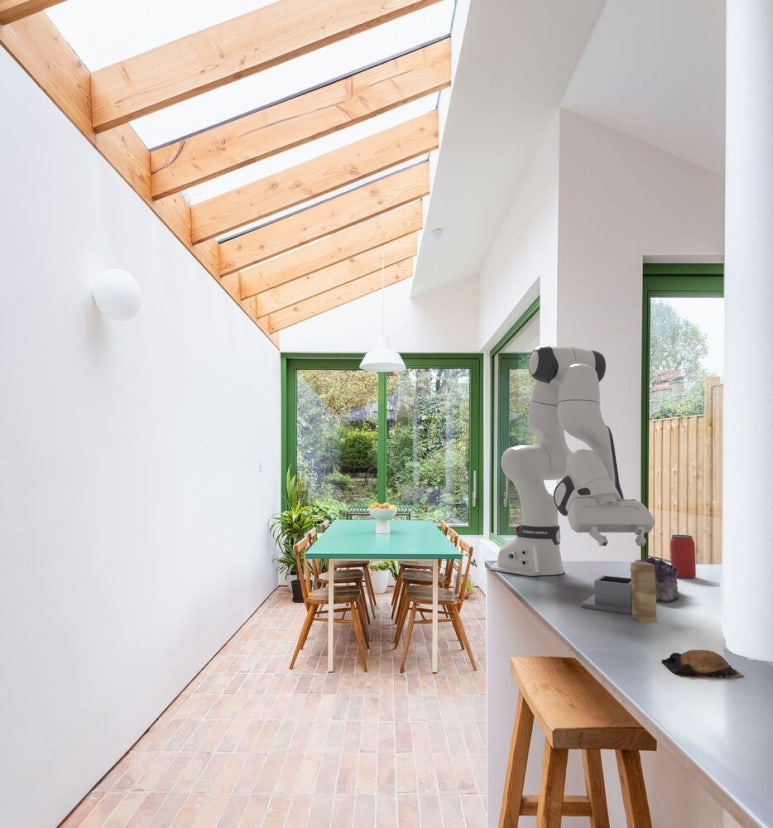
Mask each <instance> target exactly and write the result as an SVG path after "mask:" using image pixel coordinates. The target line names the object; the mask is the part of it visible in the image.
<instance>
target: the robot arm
mask: <svg viewBox="0 0 773 828" xmlns="http://www.w3.org/2000/svg"><path fill="white" fill-rule="evenodd" d="M606 369H607V362H606V358H605V356H604V355H603V353H600V352H599V351H596V350H593V349H585V348H581V347H576V346H558V345H556V346H551V345H547V344H546V345H540V346H536V348H534V349H533V350H532V352H531V354H530V356H529V361H528V370H529V371H528V372H529V374H530V376H531V377H532V378H533V379H534V380H535V381H534V384H533V389H532V393H531V397H530V403H529V409H528V414H527V426H528V428H529V429H530V430H531V431H532V432H534V433H535V436H536V444H535V445H534V444H531V445H530V444H528V445H527V444H521V445H516V446H511V447H509V448H506V449H505V450H504V451H503V453H502V456H501V459H500V466H501V470H502V472H503V473H504V475H505V476H506V477H507V478H508V479H509V480H510V481H511V482H512V483H513V485H514V486H515V488H516V490H517V493H518V496H519V500H520V510H521V524H519V525H518V526H516V527H514V532H515V533H516V534H515V535H516V536H515V537H513V538H512V539H511V540H509V541H508V542H506V543H505V544H504V545H503V546H502V547H501V548H500V549H499V552H498V553H497V554H498V555H497V561H496V562H494V563H492V564H491V565H490V570H491V571H497V572H502V573H503V572H504V573H510V574H514V575H516V574H517V575H523V576H531V577H535V576H536V577H537V576H554V575H562V574H564V573H565V572H566V570H565V568H564V564H563V561H562V555H561V554H562V553H561V546H560V544H561V528H560V525H559V514H561V515H562V516H564V517H567V520H568V524H569V526H570V527H571V529H572V530H573V531H574V532H576V533H579V534H582V533H588V534H589V536H590V537H591V538H593V539H594V540H595V541H596V542H597V544H598V546H599V547H607V545H608V544H609V540H608V539H607V536H606V535H602V534H601V533H609V534H610V533H613V534H615V533H618V534H619V533H623V534H624V533H627V534H628V533H633V534H635V535H636V538H635V540H634V541H635V543H636V545H637V546H638V547H639V546H640V547H642V546H645V545H646V543H647V541H646V538H645V537H644V535H645V533H650V532H651V531H652V530H653V528H654V526H655V525H656V520H655V518H654V517H653V515H652V514H651V512H650V511H649V509H648V508H647V507H646V505H644V503H643V502H641V501H639V500H636V499H633V498H631V499H626V498H624V494H623V491H622V487H621V483H620V476H619V469H618V463H617V456H616V448H615V442H614V438H613V433H612V430H611V428H610V427H609V426H608V425H606V423H605V421H604V418H603V415H602V411H601V390H600V382H601V381H602V380H604V377H605V374H606ZM565 432H566V433H568V435H570V436H571V437H574V438H576V439H577V440H580V441H581V442H583V443H584V444H586V445H587V446H588V447H589V448H590V449H583V448H581V449H577V450H574V451H572V450H571V449H570V448H569V446H568V444H567V441H566V437H565ZM557 480H560V482H558V483H557V485H556V486H555V489H554V490H553V494H551V493H549V491H548V489H547V487H546V484H545V481H557Z"/></svg>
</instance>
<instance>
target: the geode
mask: <svg viewBox="0 0 773 828" xmlns="http://www.w3.org/2000/svg"><path fill="white" fill-rule="evenodd" d="M635 562H646V563H650V564H653V565H655V588H656V603H659V604H660V603H664V604H669V603H673V602H675V601H678V600H679V593H678V591H679V588H678V578H677V574H678V573H677V568H676V567H675V566H673V567H672V566H671V564H670V563H667V562H665V561H664V560H663V559H656V558H654V556H653V557H652V556H651V557H647V558H645V559H636V560H635V561H634V562H633V563H635ZM629 570H630V571H629V572H631V567H630V568H629Z"/></svg>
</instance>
